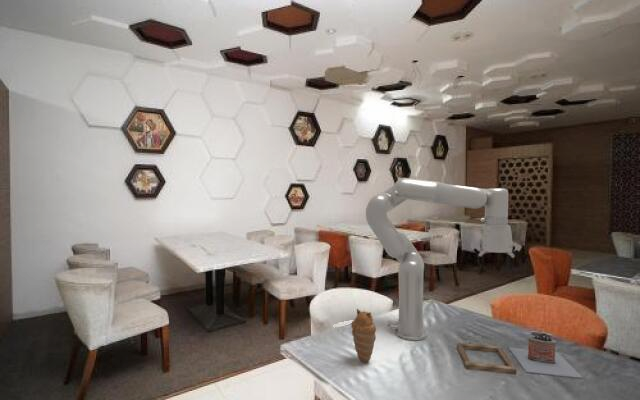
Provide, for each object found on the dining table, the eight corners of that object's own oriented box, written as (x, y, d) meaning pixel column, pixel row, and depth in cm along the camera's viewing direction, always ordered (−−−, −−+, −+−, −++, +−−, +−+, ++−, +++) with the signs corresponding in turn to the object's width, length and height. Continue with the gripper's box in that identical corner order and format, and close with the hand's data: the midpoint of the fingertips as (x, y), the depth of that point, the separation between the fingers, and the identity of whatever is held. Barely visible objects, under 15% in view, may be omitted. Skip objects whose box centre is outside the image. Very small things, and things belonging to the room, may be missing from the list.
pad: (526, 372, 105) (526, 371, 105) (508, 348, 121) (508, 347, 121) (582, 378, 102) (582, 377, 102) (556, 353, 118) (557, 351, 118)
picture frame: (466, 368, 108) (466, 364, 108) (457, 346, 122) (457, 342, 122) (516, 374, 104) (516, 369, 104) (500, 350, 119) (500, 346, 119)
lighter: (553, 360, 112) (554, 331, 112) (556, 365, 109) (557, 336, 108) (526, 355, 115) (527, 328, 114) (528, 360, 112) (529, 332, 111)
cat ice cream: (347, 362, 112) (347, 310, 111) (359, 352, 118) (359, 304, 117) (370, 371, 106) (370, 317, 105) (381, 360, 113) (381, 309, 112)
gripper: (473, 222, 119) (472, 268, 120) (526, 223, 115) (524, 270, 116) (468, 219, 126) (467, 263, 127) (517, 220, 123) (516, 265, 123)
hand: (494, 266), depth 121 cm, fingers open, 9 cm apart
